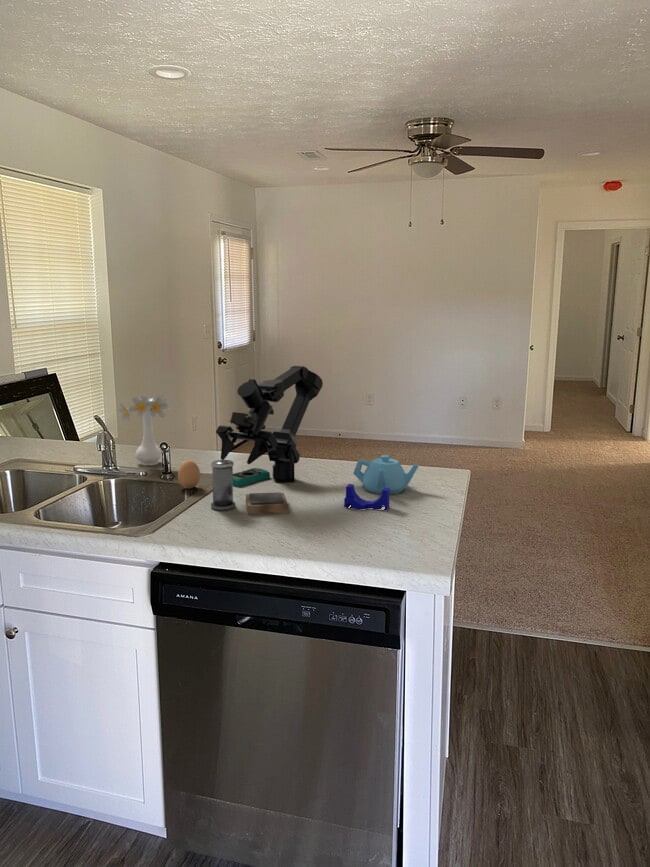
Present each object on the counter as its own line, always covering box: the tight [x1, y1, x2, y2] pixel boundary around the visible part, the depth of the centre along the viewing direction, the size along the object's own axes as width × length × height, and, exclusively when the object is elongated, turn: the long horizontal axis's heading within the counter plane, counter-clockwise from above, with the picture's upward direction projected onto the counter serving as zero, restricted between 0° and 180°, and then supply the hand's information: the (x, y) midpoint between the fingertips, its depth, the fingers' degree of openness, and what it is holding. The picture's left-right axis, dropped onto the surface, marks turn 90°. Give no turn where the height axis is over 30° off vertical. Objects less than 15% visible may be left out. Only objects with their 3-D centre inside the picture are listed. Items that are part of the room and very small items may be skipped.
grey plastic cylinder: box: [210, 459, 236, 512], centre depth 187 cm, size 7×7×13 cm
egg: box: [177, 459, 201, 490], centre depth 205 cm, size 7×7×9 cm
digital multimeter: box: [233, 467, 271, 488], centre depth 216 cm, size 7×15×3 cm, turn 141°
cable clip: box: [343, 483, 391, 511], centre depth 189 cm, size 12×4×6 cm, turn 72°
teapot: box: [352, 454, 419, 495], centre depth 207 cm, size 15×15×11 cm
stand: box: [245, 492, 289, 516], centre depth 188 cm, size 11×11×3 cm
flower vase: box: [117, 391, 172, 467], centre depth 231 cm, size 13×18×25 cm
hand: (234, 461), depth 191 cm, fingers open, 9 cm apart
